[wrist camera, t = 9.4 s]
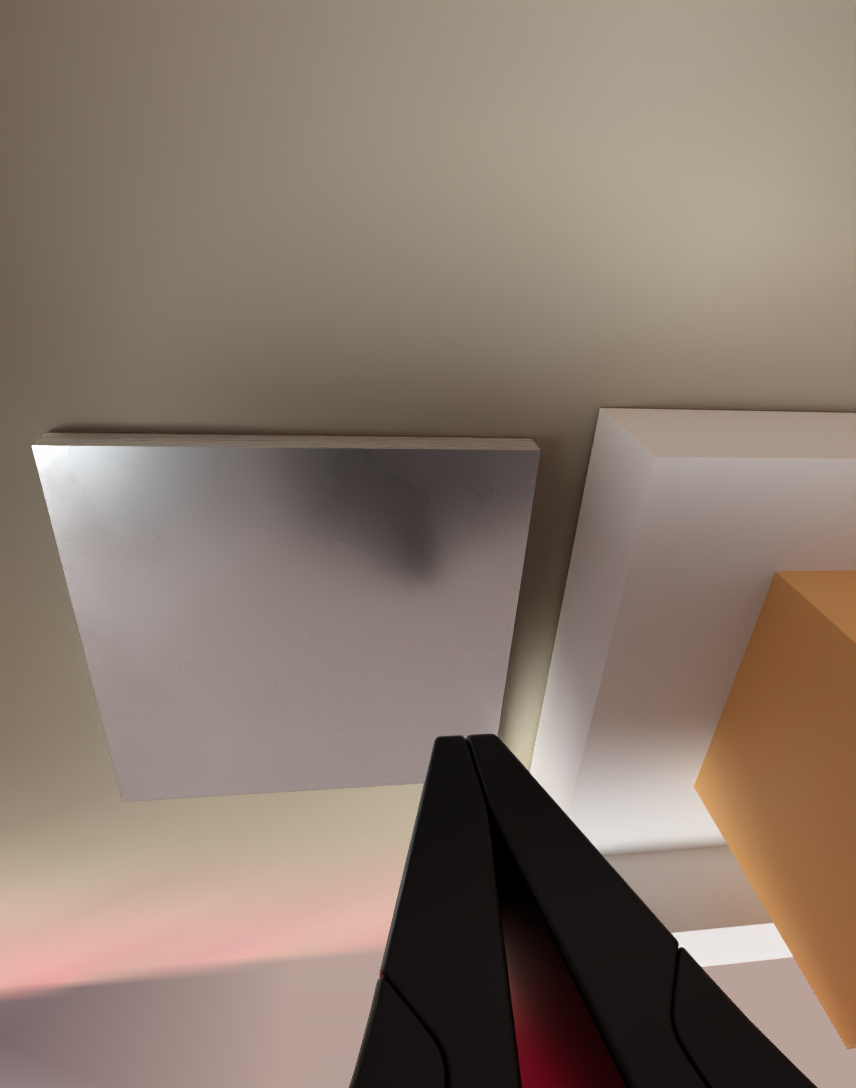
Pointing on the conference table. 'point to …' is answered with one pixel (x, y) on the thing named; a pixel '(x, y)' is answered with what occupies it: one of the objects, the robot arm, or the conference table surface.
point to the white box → (681, 639)
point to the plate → (289, 600)
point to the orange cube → (797, 777)
